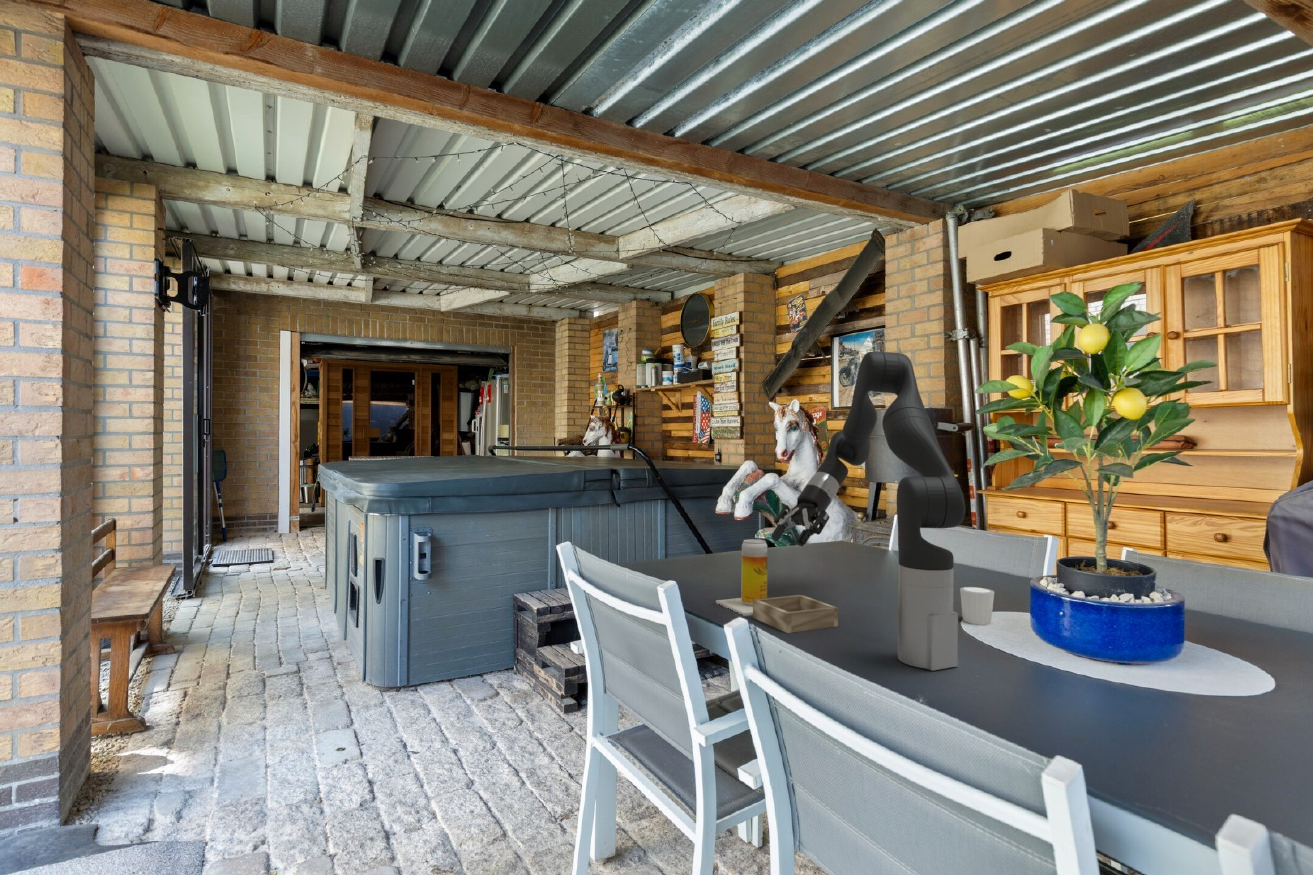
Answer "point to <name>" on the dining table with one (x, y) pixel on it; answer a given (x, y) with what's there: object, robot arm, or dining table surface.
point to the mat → (736, 606)
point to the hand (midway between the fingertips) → (786, 541)
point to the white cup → (977, 605)
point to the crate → (795, 613)
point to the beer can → (753, 571)
